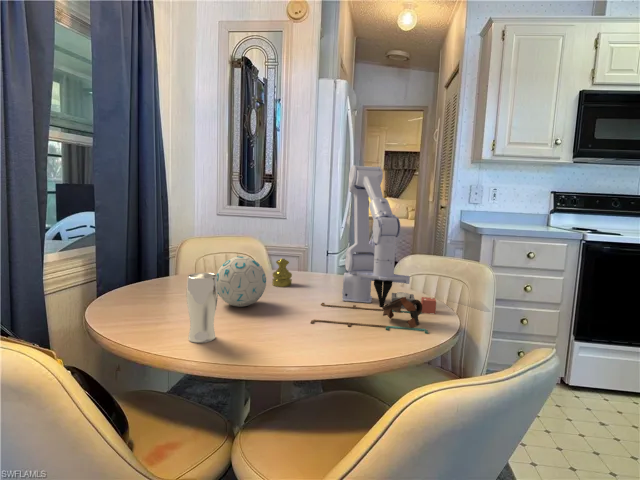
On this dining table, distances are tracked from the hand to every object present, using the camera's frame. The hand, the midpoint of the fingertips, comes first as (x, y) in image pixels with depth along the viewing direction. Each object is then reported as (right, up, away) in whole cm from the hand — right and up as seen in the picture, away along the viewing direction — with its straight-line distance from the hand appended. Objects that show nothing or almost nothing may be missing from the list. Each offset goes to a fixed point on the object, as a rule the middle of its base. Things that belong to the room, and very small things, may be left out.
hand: (381, 306), depth 116 cm
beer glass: (-45, -4, -21) cm, 50 cm away
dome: (+9, -1, +15) cm, 18 cm away
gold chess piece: (-32, +2, +37) cm, 49 cm away
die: (+16, -3, +9) cm, 18 cm away
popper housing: (+9, -2, +15) cm, 18 cm away
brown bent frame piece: (+6, -4, -3) cm, 8 cm away
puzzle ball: (-42, -1, +8) cm, 42 cm away
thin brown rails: (-3, -3, +1) cm, 5 cm away
